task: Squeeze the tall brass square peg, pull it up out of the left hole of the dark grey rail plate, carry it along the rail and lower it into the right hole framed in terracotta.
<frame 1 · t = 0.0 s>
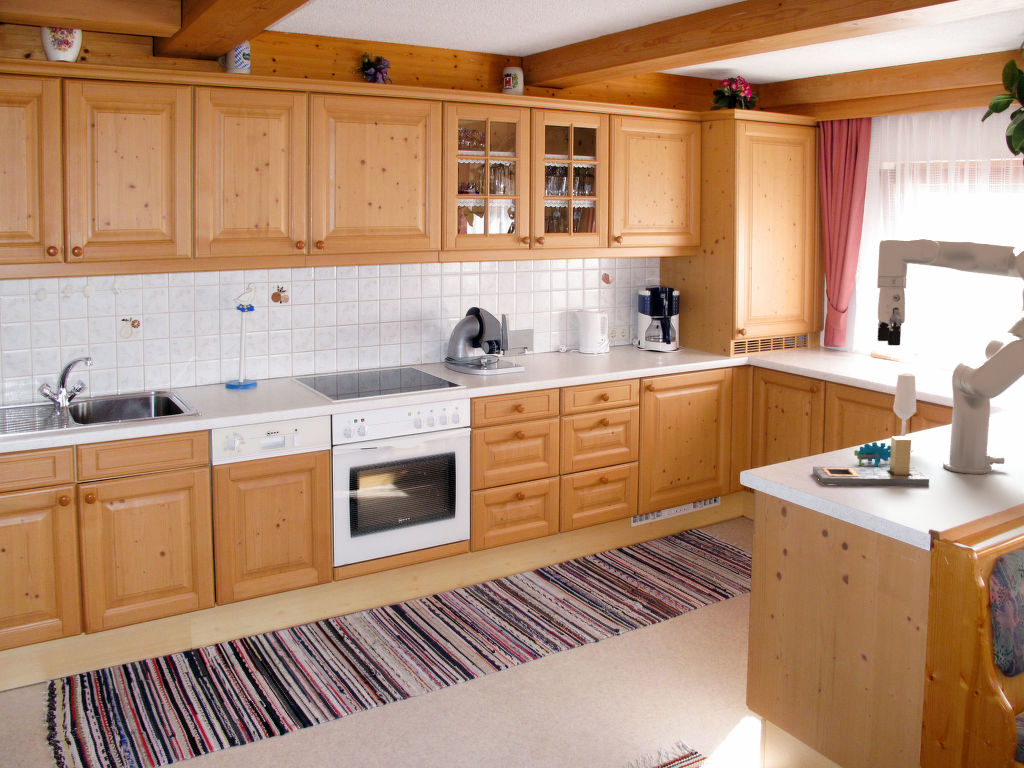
hand: (888, 343, 263), 37 cm above the worktop, tool pointing down, fingers open, 9 cm apart
peg: (898, 480, 257), resting in rail plate
gear: (873, 465, 273), on the worktop
champagne flute: (902, 450, 291), on the worktop
rail plate: (869, 479, 257), on the worktop
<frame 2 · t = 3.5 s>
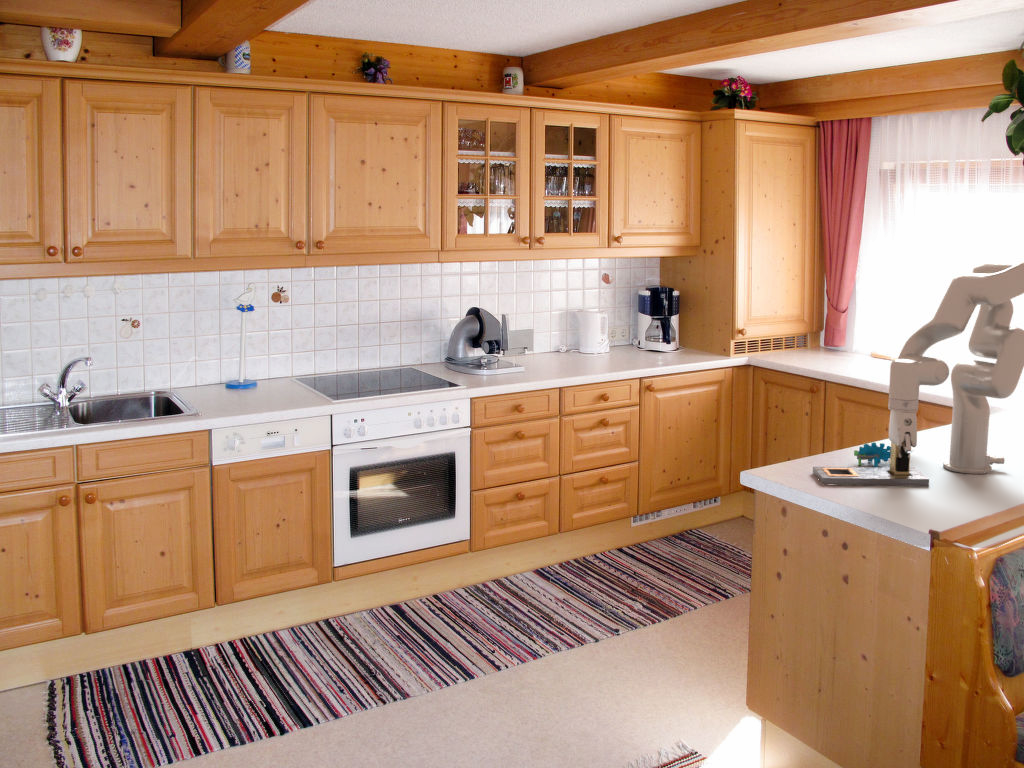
hand: (899, 468, 256), 3 cm above the worktop, tool pointing down, fingers closed on peg, 3 cm apart
peg: (898, 480, 257), resting in rail plate, touching gripper
everything else where it was.
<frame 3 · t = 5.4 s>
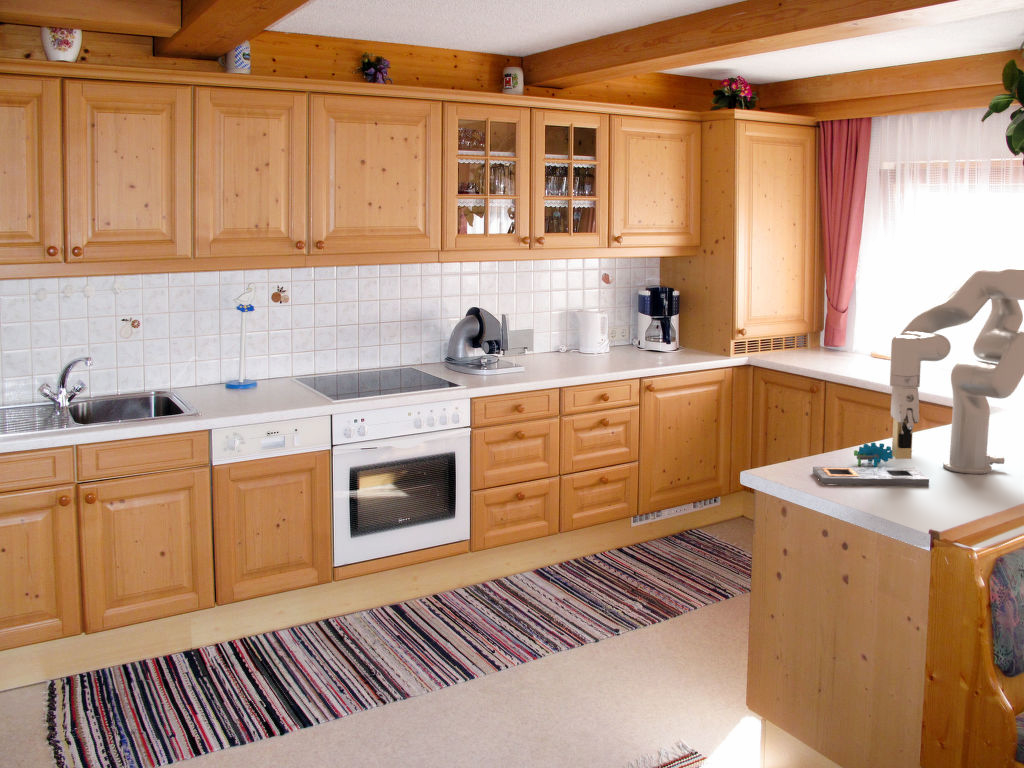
hand: (902, 445, 255), 10 cm above the worktop, tool pointing down, fingers closed on peg, 3 cm apart
peg: (901, 456, 256), point 7 cm above the worktop, touching gripper
everything else where it was.
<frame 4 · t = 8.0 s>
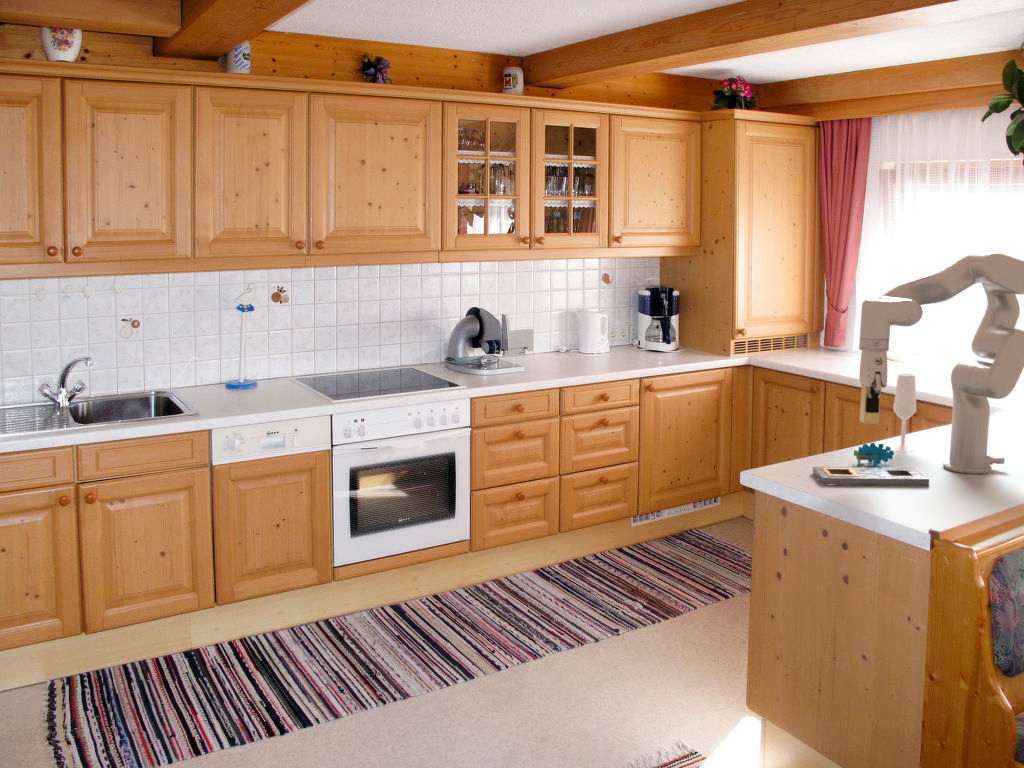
hand: (869, 410, 254), 20 cm above the worktop, tool pointing down, fingers closed on peg, 3 cm apart
peg: (868, 422, 254), point 16 cm above the worktop, touching gripper
everything else where it was.
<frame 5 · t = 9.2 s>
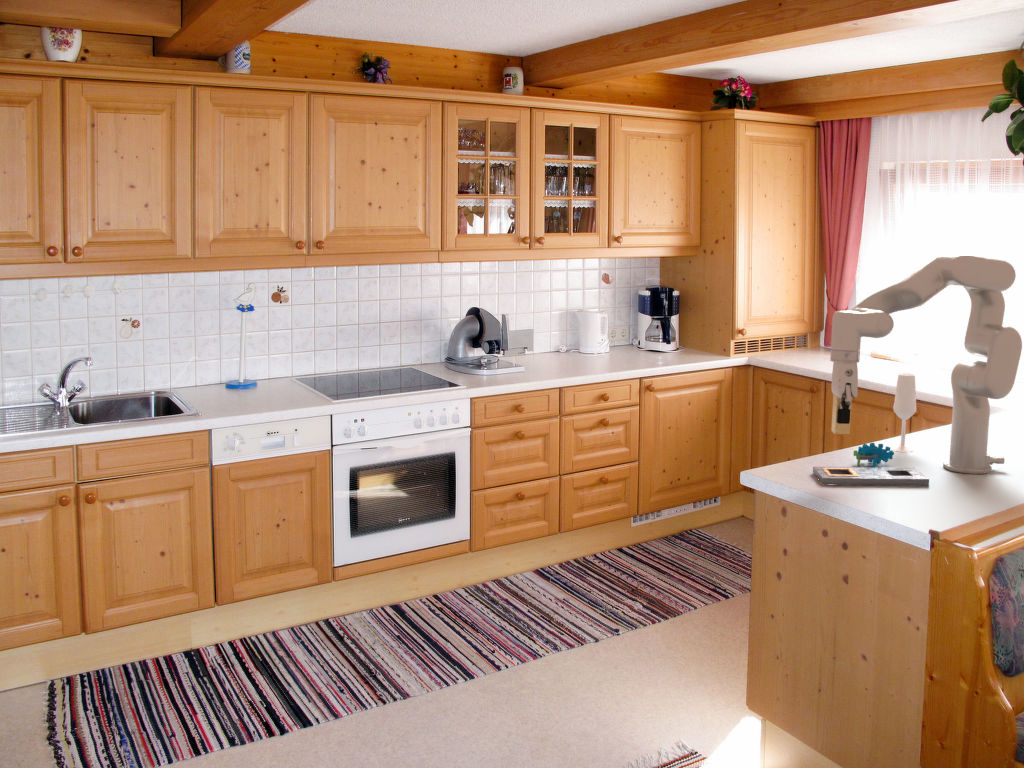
hand: (841, 421, 255), 17 cm above the worktop, tool pointing down, fingers closed on peg, 3 cm apart
peg: (840, 432, 256), point 13 cm above the worktop, touching gripper
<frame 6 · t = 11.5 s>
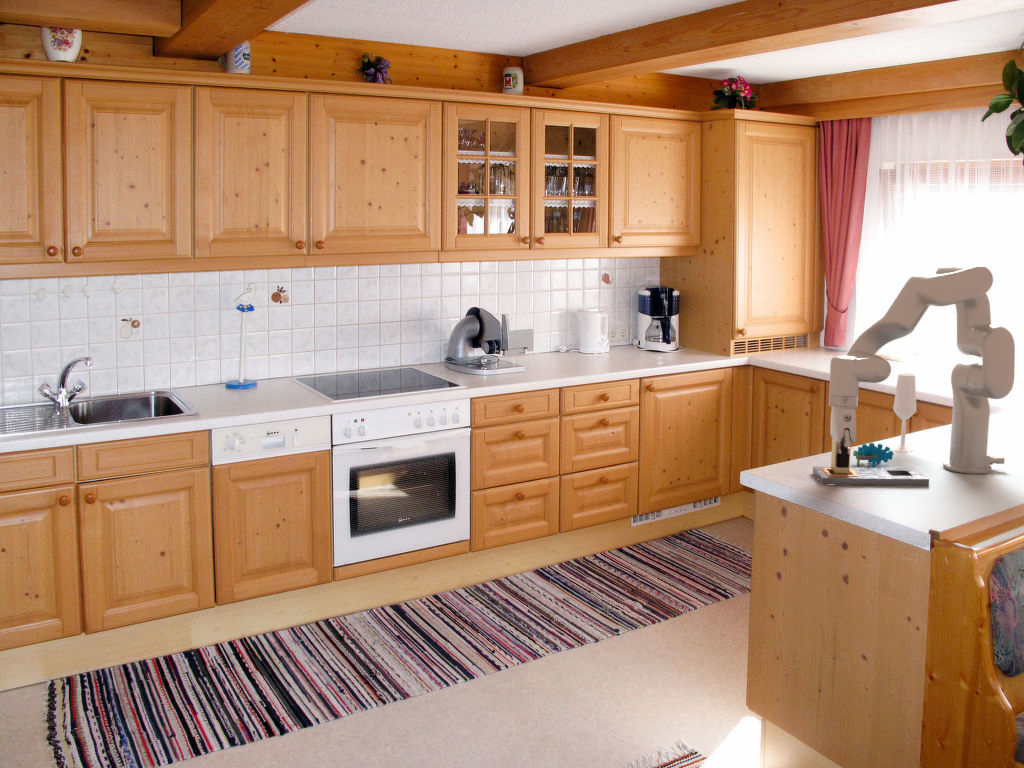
hand: (840, 464, 257), 4 cm above the worktop, tool pointing down, fingers closed on peg, 3 cm apart
peg: (839, 476, 258), point 1 cm above the worktop, touching gripper
when the fingers open (4 cm above the worktop, at t = 12.0 s): peg stays where it is, resting in rail plate.
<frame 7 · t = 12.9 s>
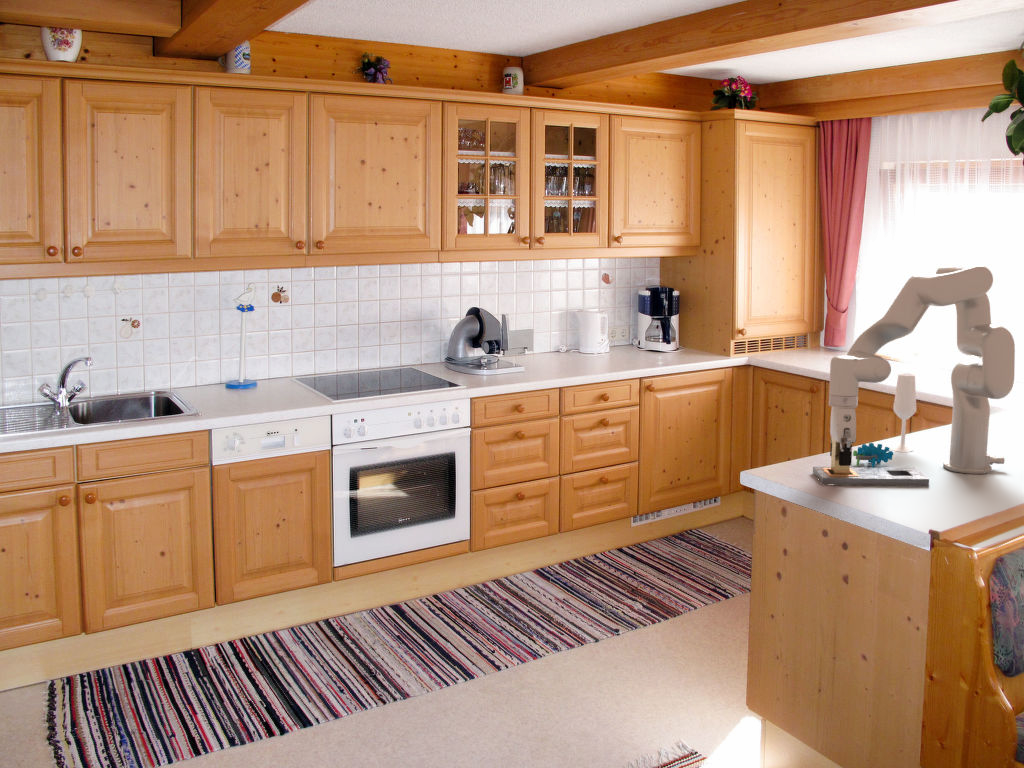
hand: (840, 461, 257), 5 cm above the worktop, tool pointing down, fingers open, 9 cm apart
peg: (839, 479, 258), resting in rail plate
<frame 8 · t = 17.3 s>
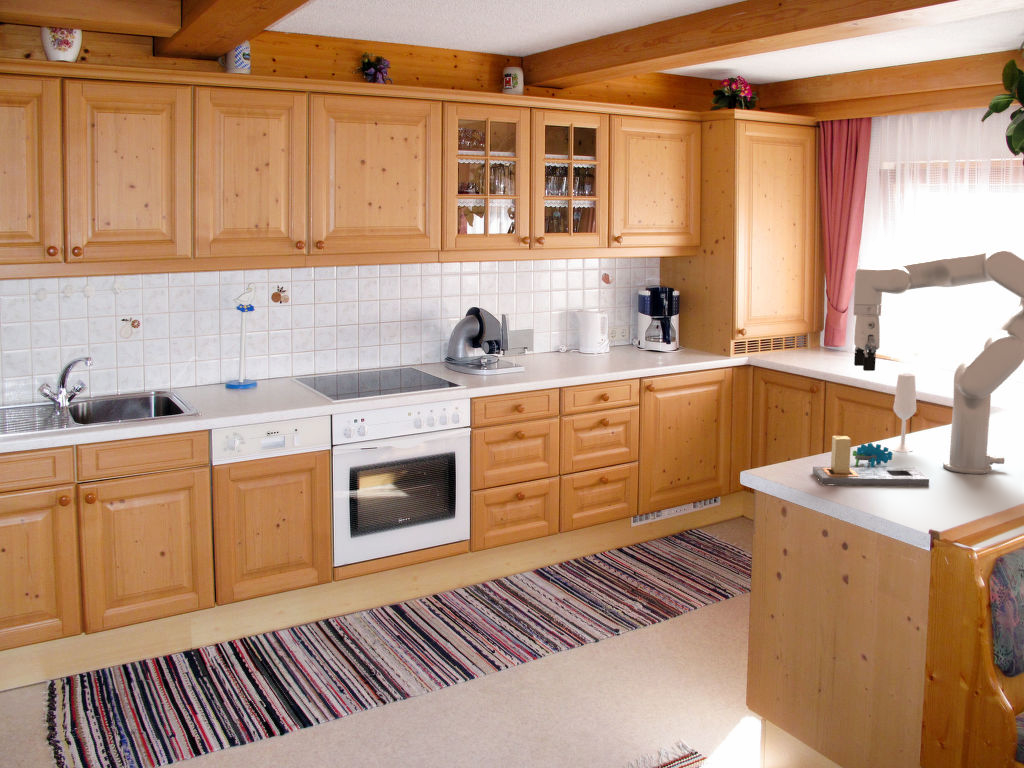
hand: (864, 368, 273), 28 cm above the worktop, tool pointing down, fingers open, 9 cm apart
at the end: peg 0.1 cm from the target spot on the rail plate, point 0.0 cm above the rail plate's base; peg tilted 0°; the gripper is holding nothing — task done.
